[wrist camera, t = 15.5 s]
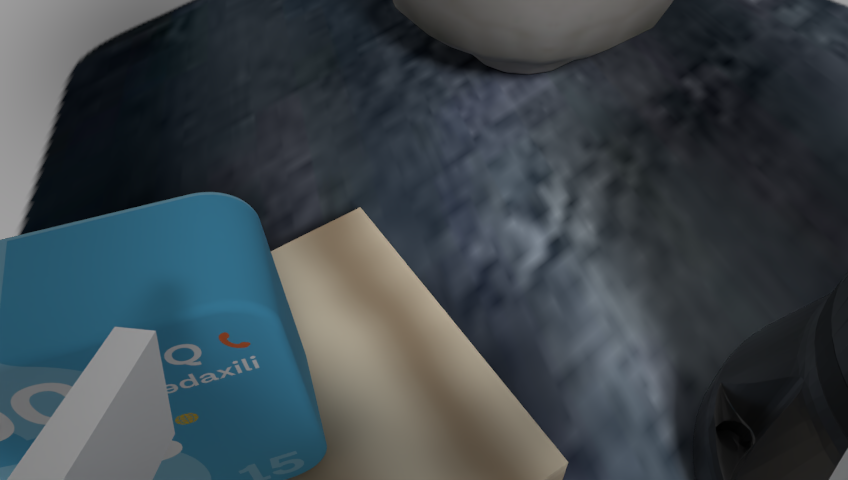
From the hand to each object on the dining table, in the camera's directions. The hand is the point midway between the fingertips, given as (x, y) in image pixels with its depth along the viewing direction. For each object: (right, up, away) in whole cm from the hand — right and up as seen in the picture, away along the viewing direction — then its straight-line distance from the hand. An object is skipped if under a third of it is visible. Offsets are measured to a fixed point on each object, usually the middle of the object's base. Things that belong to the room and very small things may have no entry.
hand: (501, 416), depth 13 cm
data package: (-11, -6, +15) cm, 19 cm away
